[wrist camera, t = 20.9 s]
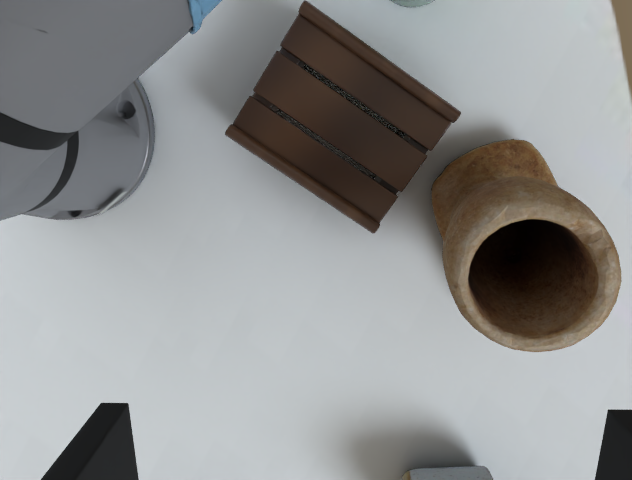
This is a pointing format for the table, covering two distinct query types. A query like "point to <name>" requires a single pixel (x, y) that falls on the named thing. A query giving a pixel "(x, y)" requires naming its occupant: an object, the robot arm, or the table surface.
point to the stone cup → (522, 250)
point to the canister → (412, 2)
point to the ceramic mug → (449, 473)
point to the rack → (341, 118)
